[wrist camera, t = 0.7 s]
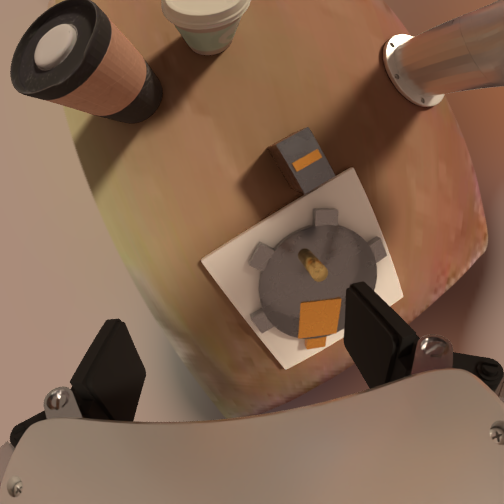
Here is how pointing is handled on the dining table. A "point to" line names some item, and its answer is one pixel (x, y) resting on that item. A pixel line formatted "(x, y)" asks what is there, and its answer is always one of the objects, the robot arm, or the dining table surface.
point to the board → (277, 228)
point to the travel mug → (85, 64)
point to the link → (301, 161)
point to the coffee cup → (205, 22)
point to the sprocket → (312, 277)
